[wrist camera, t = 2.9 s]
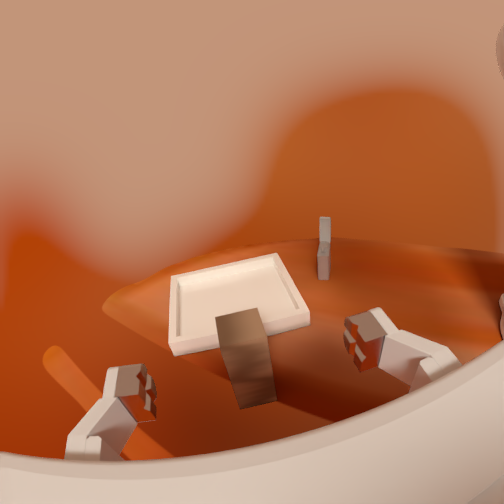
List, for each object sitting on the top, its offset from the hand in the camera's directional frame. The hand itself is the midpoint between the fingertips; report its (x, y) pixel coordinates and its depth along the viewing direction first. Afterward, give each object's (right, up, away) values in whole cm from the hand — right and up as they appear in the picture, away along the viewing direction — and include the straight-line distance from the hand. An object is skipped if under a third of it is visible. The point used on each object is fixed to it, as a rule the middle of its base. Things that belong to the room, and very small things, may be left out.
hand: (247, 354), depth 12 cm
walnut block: (0, -11, +20) cm, 23 cm away
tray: (-3, -4, +34) cm, 34 cm away
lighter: (+12, +1, +39) cm, 41 cm away
